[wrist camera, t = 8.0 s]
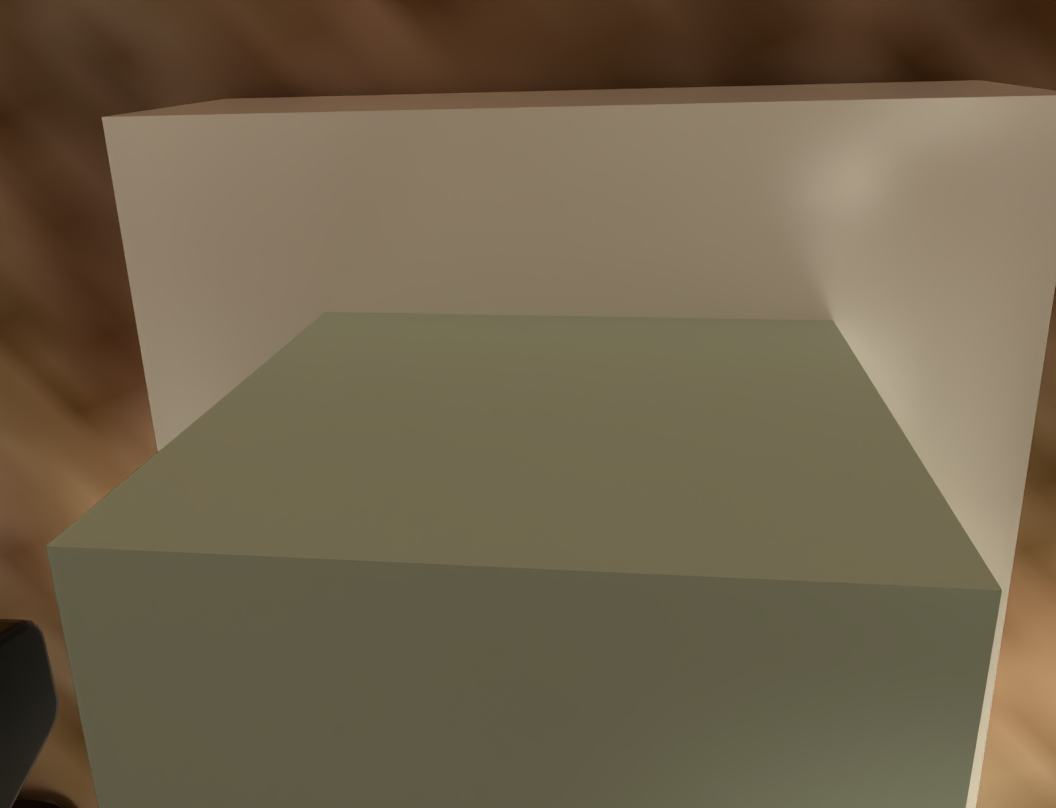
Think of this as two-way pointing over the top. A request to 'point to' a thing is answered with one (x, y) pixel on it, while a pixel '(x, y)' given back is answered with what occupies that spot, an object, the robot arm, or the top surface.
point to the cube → (532, 579)
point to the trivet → (624, 239)
